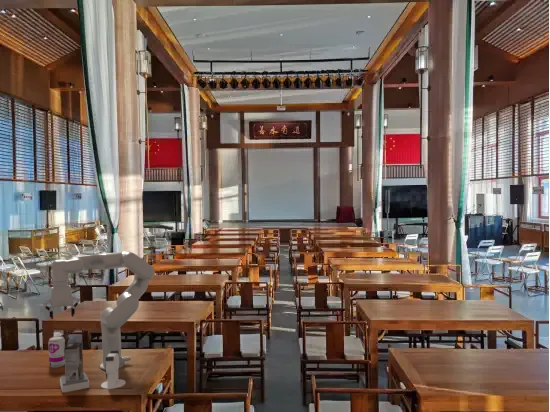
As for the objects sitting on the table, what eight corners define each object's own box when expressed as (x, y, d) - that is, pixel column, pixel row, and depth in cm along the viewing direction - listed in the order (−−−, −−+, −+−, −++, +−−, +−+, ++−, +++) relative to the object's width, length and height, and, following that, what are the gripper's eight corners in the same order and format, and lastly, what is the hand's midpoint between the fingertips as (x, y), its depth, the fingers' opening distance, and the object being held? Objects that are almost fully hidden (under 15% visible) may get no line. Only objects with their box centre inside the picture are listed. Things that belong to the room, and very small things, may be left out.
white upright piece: (104, 380, 250) (103, 350, 250) (128, 378, 251) (126, 349, 251) (98, 389, 238) (96, 358, 238) (122, 388, 239) (121, 356, 239)
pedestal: (86, 379, 252) (85, 371, 252) (89, 387, 241) (88, 379, 241) (60, 384, 246) (59, 376, 246) (62, 392, 236) (61, 384, 236)
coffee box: (70, 374, 248) (68, 342, 247) (83, 373, 249) (82, 341, 248) (64, 381, 239) (63, 348, 238) (79, 380, 240) (77, 347, 239)
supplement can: (59, 368, 270) (58, 340, 270) (46, 367, 272) (44, 340, 271) (68, 363, 278) (67, 336, 278) (55, 362, 280) (54, 335, 279)
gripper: (78, 281, 264) (79, 313, 264) (42, 284, 256) (43, 318, 256) (79, 283, 257) (81, 316, 258) (42, 287, 249) (44, 321, 250)
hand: (62, 317), depth 257 cm, fingers open, 9 cm apart
